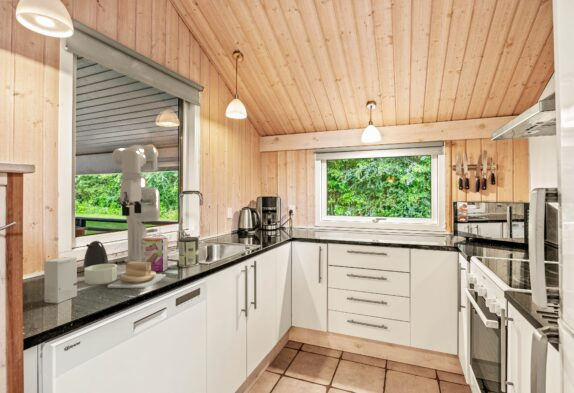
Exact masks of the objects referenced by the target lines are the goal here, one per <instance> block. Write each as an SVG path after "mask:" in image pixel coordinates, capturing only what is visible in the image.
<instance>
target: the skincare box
mask: <svg viewBox="0 0 574 393" xmlns="http://www.w3.org/2000/svg"><path fill="white" fill-rule="evenodd" d="M43 263H44V265H43V269H44V270H43V271H44V272H43V274H44V302H45V303H50V304H60V303H62V302H65V301H68V300H71V299H72V298H76V297H77V296H78V272H77V271H78V269H77V267H78V266H77V263H78V261H77V256H75V257H74V256H72V257H71V256H70V257H67V256H66V257H65V256H64V257H58V258H53V259H49V260H48V259H47V260H45V261H44V262H43Z"/></svg>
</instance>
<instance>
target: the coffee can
mask: <svg viewBox="0 0 574 393" xmlns="http://www.w3.org/2000/svg"><path fill="white" fill-rule="evenodd" d="M199 255H200V254H199V237H198V236H197V237H196V236H187V237H186V236H185V237H180V238H178V266H179V267H182V268H190V267H191V268H192V267H196V266H198V265H200V264H199V262H200V261H199Z"/></svg>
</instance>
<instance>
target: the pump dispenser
mask: <svg viewBox="0 0 574 393" xmlns="http://www.w3.org/2000/svg"><path fill="white" fill-rule="evenodd" d="M86 248H87V249H86V251H85V252H84V253H85V254H84V258H83V266H82V267H83V268H84V269H85V268H86V267H89V266H93V265H98V264H109V258H108V254H107V250H106V249H105V246H104V244H103V243H102V242H101V241H99V240H93V241H91V242H90V243H89V244H88V243H87V244H86Z"/></svg>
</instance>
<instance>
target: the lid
mask: <svg viewBox="0 0 574 393" xmlns="http://www.w3.org/2000/svg"><path fill="white" fill-rule="evenodd" d="M156 274H157V272H154V271H151V262H130V263H125V273H122V274H120V277H119V280H121V281H124V282H129V283H139V282H145V281H148V280H150V279H152V278H154V277H156Z"/></svg>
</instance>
